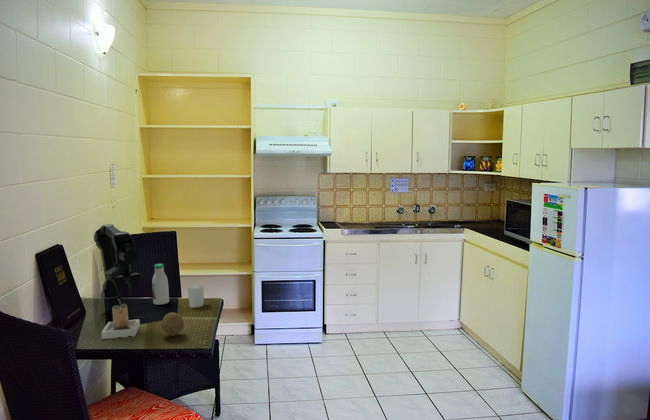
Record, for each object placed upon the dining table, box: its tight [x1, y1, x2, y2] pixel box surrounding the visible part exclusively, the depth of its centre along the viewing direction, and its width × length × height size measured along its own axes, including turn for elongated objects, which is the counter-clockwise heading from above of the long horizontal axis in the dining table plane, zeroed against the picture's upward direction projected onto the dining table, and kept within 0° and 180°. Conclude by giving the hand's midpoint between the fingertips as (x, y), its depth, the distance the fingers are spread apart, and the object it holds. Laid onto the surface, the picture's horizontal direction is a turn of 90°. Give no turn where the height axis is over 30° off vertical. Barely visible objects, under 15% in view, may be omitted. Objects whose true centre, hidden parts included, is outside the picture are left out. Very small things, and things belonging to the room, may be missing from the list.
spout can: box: [112, 303, 129, 330], centre depth 213 cm, size 8×6×11 cm
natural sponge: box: [160, 312, 185, 337], centre depth 209 cm, size 9×9×10 cm
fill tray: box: [101, 319, 141, 340], centre depth 215 cm, size 13×13×3 cm
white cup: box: [186, 283, 205, 309], centre depth 250 cm, size 8×8×10 cm
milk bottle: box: [151, 263, 170, 306], centre depth 255 cm, size 8×8×20 cm
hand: (125, 293), depth 227 cm, fingers open, 9 cm apart
